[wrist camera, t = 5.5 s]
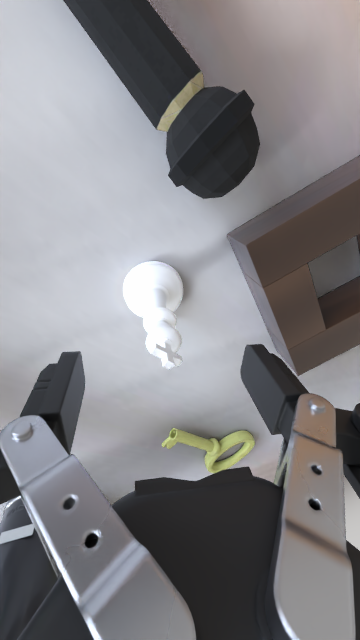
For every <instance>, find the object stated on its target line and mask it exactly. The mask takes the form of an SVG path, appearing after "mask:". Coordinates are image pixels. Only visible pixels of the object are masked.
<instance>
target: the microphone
mask: <svg viewBox="0 0 360 640" xmlns="http://www.w3.org/2000/svg"><path fill="white" fill-rule="evenodd" d="M64 2H65V3H66V4H67V6H68V7H69V9H70V10H71V11H72V13H73V14H74V16H75V17H76V18H77V20H78V21H79V23H80V24H81V25H82V27H83V28H84V29H85V31H86V32H87V34H88V35H89V36H90V38H91V39H92V41H93V42H94V43H95V45H96V46H97V48H98V49H99V50H100V52H101V53H102V55H103V56H104V57H105V59H106V60H107V61H108V63H109V64H110V66H111V67H112V68H113V70H114V71H115V73H116V74H117V75H118V77H119V78H120V80H121V81H122V82H123V84H124V85H125V87H126V88H127V89H128V91H129V92H130V93H131V95H132V96H133V98H134V99H135V100H136V102H137V103H138V105H139V106H140V107H141V109H142V110H143V112H144V113H145V114H146V116H147V117H148V119H149V120H150V121H151V123H152V124H153V125H154V127H155V128H156V129H157V130H161V131H166V132H167V147H166V154H167V158H168V161H169V165H170V168H171V169H170V172H169V174H168V176H169V177H170V179H171V180H172V181H173V183H174V184H175V185H176V187H178V186H181V185H183V186H185V187H186V188H187V189H188V190H190V191H191V192H192V193H194V194H196V195H198V196H199V197H201V198H203V199H204V198H215V197H222V196H224V195H225V194H227V193H228V192H230V191H231V190H232V189H234V188H235V187H236V186H238V185H239V184H240V183H241V182H242V181H243V179H244V178H245V177H246V176H247V175H248V173H249V172H250V171H251V170H252V168H253V167H254V165H255V161H256V157H257V153H258V150H259V146H260V142H259V137H258V132H257V127H256V125H255V122H254V119H253V117H252V114H251V111H252V109H253V106H254V103H253V101H252V100H251V99H250V97H249V96H248V94H247V93H246V92H245V90H243V91H241V92H239V93H238V94H236V93H234V92H232V91H230V90H228V89H226V88H224V87H209V88H204V83H203V74H202V72H201V70H200V69H199V68H198V66H197V65H196V64H195V62H194V61H193V60H192V58H191V57H190V56H189V54H188V53H187V52H186V51H185V49H184V48H183V47H182V45H181V44H180V43H179V41H178V40H177V39H176V37H175V36H174V35H173V33H172V32H171V31H170V30H169V28H168V27H167V26H166V24H165V23H164V22H163V20H162V19H161V18H160V16H159V15H158V14H157V12H156V11H155V10H154V9H153V7H152V6H151V5H150V3H149V2H148V1H147V0H64Z"/></svg>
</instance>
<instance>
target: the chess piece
mask: <svg viewBox="0 0 360 640" xmlns="http://www.w3.org/2000/svg"><path fill="white" fill-rule="evenodd" d="M123 294H124V298H125V301H126V303H127V305H128V307H129V308H130V309H131V311H133V312H134V313H135V314H136V315H138V316H140V317H142V318H144V320H143V325H144V328H145V330H146V331H147V332H148V333H149V334H148V336H147V339H146V346H147V349H148V351H149V352H150V353H151V354H152V355H154V356H156V357H158V358H160V359H162V365H163V367H165V368H167V369H169V370H170V369H171V368H172V367H173V366H174V365H175V366H177V367H178V366H179V365H180V364H181V363H182V362H183V361H182V357H181V356H180V355H178V354H176V352H177V351H178V350H179V349H180V347H181V343H182V339H181V335H180V334H179V332H178V331H177V330H176V329H175V326H176V316H175V314H174V313H173V312H174V311H175V310H176V309H177V308H178V306H179V305H180V303H181V301H182V298H183V283H182V280H181V277H180V275H179V274H178V273H177V271H176V270H175V269H174V268H173V267H171V266H170V265H168V264H166V263H163V262H159V261H148V262H144V263H141V264H139V265H137V266H136V267H134V268H133V269H132V270H131V271H130V272H129V273H128V275H127V277H126V279H125V281H124V285H123Z"/></svg>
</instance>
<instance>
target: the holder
mask: <svg viewBox="0 0 360 640" xmlns="http://www.w3.org/2000/svg"><path fill="white" fill-rule="evenodd" d="M356 235H357V239H358V246H359V252H360V155H359V156H358V157H356V158H354V159H353V160H351V161H349V162H348V163H346V164H344V165H343V166H341V167H339V168H338V169H336V170H334V171H333V172H331V173H329V174H327V175H326V176H324V177H322V178H321V179H319V180H317V181H316V182H314V183H312V184H311V185H309V186H307V187H306V188H304V189H302V190H301V191H299V192H297V193H296V194H294V195H292V196H290V197H289V198H287V199H285V200H284V201H282V202H280V203H279V204H277V205H275V206H274V207H272V208H270V209H269V210H267V211H265V212H264V213H262V214H260V215H259V216H257V217H255V218H253V219H252V220H250V221H248V222H247V223H245V224H243V225H242V226H240V227H238V228H237V229H235V230H233V231H232V232H230V233H228V234H227V237H228V239H229V242H230V244H231V246H232V248H233V251H234V253H235V255H236V258H237V260H238V262H239V265H240V267H241V269H242V271H243V274H244V276H245V279H246V281H247V283H248V286H249V288H250V290H251V293H252V295H253V297H254V299H255V302H256V304H257V306H258V309H259V311H260V313H261V316H262V318H263V320H264V323H265V325H266V327H267V330H268V332H269V334H270V336H271V339H272V341H273V343H274V346H275V348H276V350H277V352H278V353H279V354H280V355H281V356H282V358H283V359H284V360H285V361H286V362H287V363H288V365H289V366H290V367H291V368H292V369H293V370H294V372H295V373H296V374H297V375H298V376H299V375H301V374H303V373H305V372H307V371H309V370H311V369H313V368H315V367H317V366H319V365H321V364H323V363H324V362H326V361H328V360H330V359H332V358H334V357H336V356H338V355H340V354H342V353H344V352H346V351H348V350H350V349H352V348H354V347H356V346H357V345H359V344H360V276H359V277H357V278H355V279H353V280H351V281H350V282H348V283H346V284H344V285H342V286H340V287H339V288H337V289H335V290H333V291H331V292H329V293H327V294H326V295H324V296H322V297H320V298H318V299H317V295H316V292H315V288H314V285H313V281H312V277H311V274H310V270H309V267H308V262H310V261H312V260H313V259H315V258H317V257H319V256H321V255H322V254H324V253H326V252H328V251H330V250H331V249H333V248H335V247H337V246H338V245H340V244H342V243H344V242H346V241H347V240H349V239H351V238H353V237H354V236H356Z"/></svg>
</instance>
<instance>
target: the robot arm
mask: <svg viewBox="0 0 360 640" xmlns="http://www.w3.org/2000/svg"><path fill="white" fill-rule="evenodd" d="M241 379H242V381H243V383H244V385H245V387H246V389H247V390H248V392H249V394H250V396H251V398H252V400H253V402H254V403H255V405H256V407H257V409H258V411H259V413H260V414H261V416H262V418H263V420H264V422H265V424H266V425H267V427H268V429H269V431H270V433H271V435H275V434H282V435H283V437H284V439H283V442H282V446H281V450H280V455H279V460H278V465H277V470H276V475H275V479H274V483H272V482H270V481H267V480H265V479H262V478H259V477H255V476H253V475H252V473H251V470H250V468H249V467H242V468H234V469H226V470H221V471H219V472H217V473H214V474H212V475H210V476H208V477H205V478H203V479H201V480H198V481H188V480H181V479H173V478H166V477H163V478H155V479H147V480H140V481H135V491H134V492H132V493H129V494H127V495H126V496H124V497H122V498H121V499H119V500H118V501H117V502H115V503H114V504H113V505H112V506H111V505H110V503H109V502H108V500H107V499H106V498H105V496H104V495H103V493H102V492H101V491H100V489H99V488H98V487H97V485H96V484H95V482H94V481H93V480H92V478H91V477H90V475H89V474H88V473H87V471H86V470H85V469H84V467H83V466H82V464H81V463H80V462H79V460H78V459H77V458H76V457H75V456H74V455H73V454H71V455H70V452H71V447H72V443H73V439H74V434H75V430H76V425H77V421H78V417H79V412H80V408H81V404H82V399H83V395H84V390H85V376H84V369H83V363H82V356H81V352H80V351H79V352H62V354H61V356H60V359H59V361H58V364H49V365H48V366H47V367H46V368H45V369H44V370H42V371H41V373H40V375H39V377H38V379H37V382H36V383H35V385H34V388H33V390H32V392H31V394H30V396H29V398H28V400H27V402H26V404H25V406H24V409H23V411H22V413H21V415H20V417H19V418H18V419H16V420H14V421H12V422H10V423H9V424H8V425H7V426H5V427H4V429H3V430H2V431H1V432H0V504H2V503H4V502H7V501H8V503H7V505H6V507H5V510H4V513H3V518H2V520H1V523H0V640H360V551H359V550H358V549H356V548H355V547H354V546H353V545H352V544H350V543H349V542H348V541H347V540H346V531H345V530H346V529H345V503H344V476H343V474H344V475H345V477H346V478H347V480H348V481H349V483H350V484H351V486H352V487H353V489H354V491H355V492H356V494H357V495H358V497H359V498H360V403H359V404H357V405H356V407H355V408H354V410H353V411H348V410H342V409H337V408H334V407H333V405H332V404H331V403H330V402H329V401H327V400H326V399H325V398H323V397H321V396H318V395H315V394H311V393H309V392H308V391H307V390H306V388H305V387H304V386H303V385H302V383H301V382H300V381H299V380H298V379H297V377H296V376H295V375H294V374H292V371H291V370H290V369H289V368H287V365H286V364H285V363H284V362H283V361H282V359H280V358H279V357H277V356H276V355H274V354H273V353H272V354H270V353H269V352H268V350H267V349H266V348H265V347H264V345H262V344H255V345H247V346H246V347H245V351H244V356H243V361H242V365H241Z"/></svg>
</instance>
